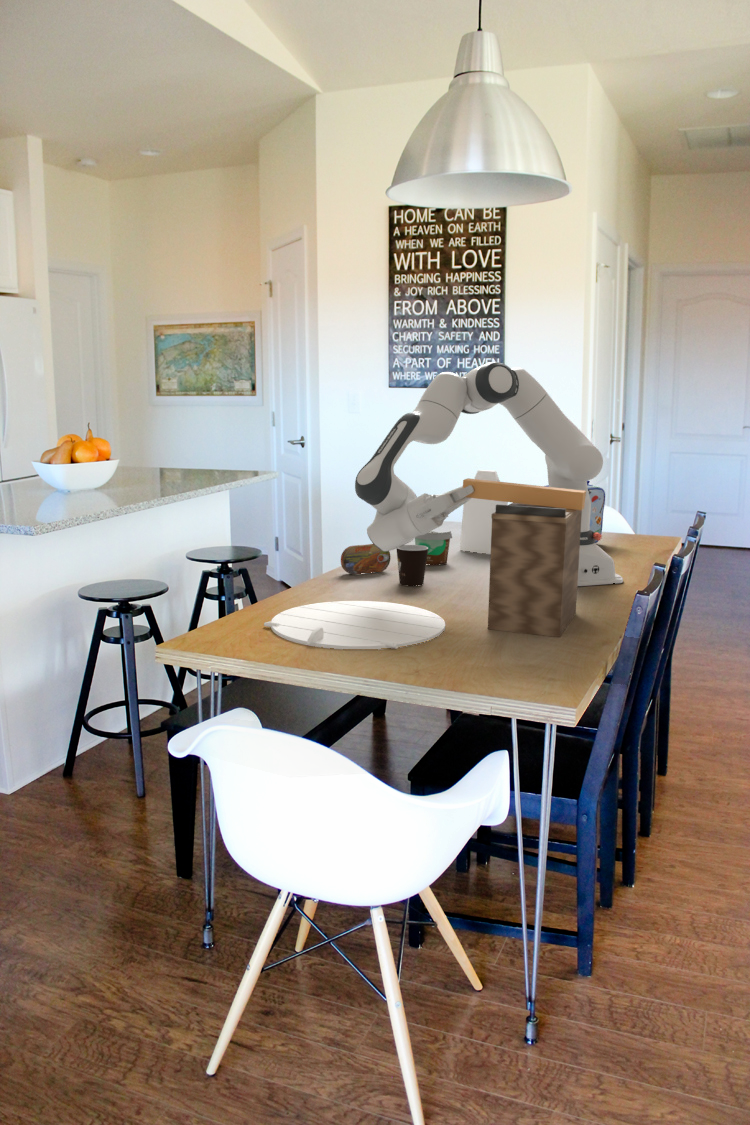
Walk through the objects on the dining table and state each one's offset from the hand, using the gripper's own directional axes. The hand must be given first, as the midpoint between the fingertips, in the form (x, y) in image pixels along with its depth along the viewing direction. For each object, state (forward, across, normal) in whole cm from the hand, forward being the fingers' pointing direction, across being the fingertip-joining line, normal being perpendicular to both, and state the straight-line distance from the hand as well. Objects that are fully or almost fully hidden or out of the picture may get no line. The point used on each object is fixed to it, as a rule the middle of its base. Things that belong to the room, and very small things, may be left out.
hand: (476, 486), depth 216 cm
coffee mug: (-35, +22, +15) cm, 43 cm away
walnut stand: (-1, -6, +34) cm, 34 cm away
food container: (-38, +48, +13) cm, 63 cm away
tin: (-49, +28, +6) cm, 57 cm away
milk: (-30, +78, +18) cm, 85 cm away
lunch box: (-9, +99, +30) cm, 103 cm away
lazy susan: (-32, -25, +16) cm, 44 cm away
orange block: (+8, 0, +8) cm, 12 cm away
